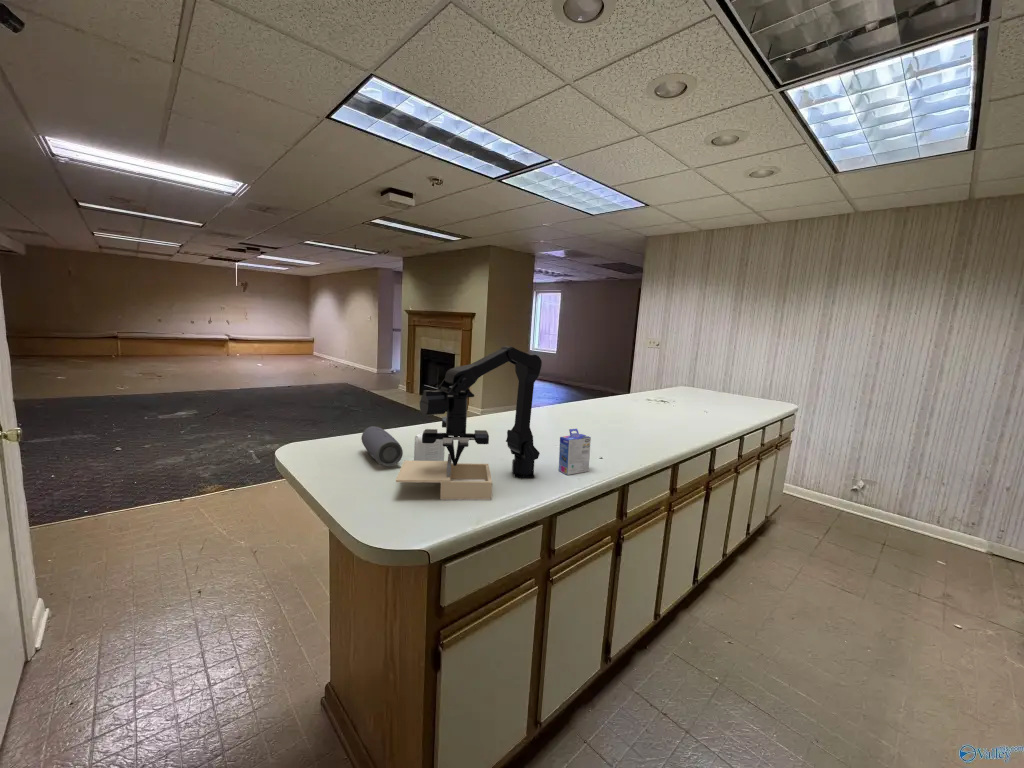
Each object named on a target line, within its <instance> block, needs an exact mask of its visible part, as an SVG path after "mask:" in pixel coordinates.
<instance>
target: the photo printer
mask: <svg viewBox="0 0 1024 768" xmlns="http://www.w3.org/2000/svg"><path fill="white" fill-rule="evenodd" d="M437 433H442V432H440V431H437ZM422 435H423V432H420V433H418V434H416V435H415V436H414V448H413V449H414V450H413V453H414V455H413V461H445V448H446V446H443V439H436V441H435V442H434V443H422Z"/></svg>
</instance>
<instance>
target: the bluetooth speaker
mask: <svg viewBox="0 0 1024 768" xmlns="http://www.w3.org/2000/svg"><path fill="white" fill-rule="evenodd" d="M360 440H361V442H362V445H363V447H364V448H365V449H366V451H367V453H368V454H369V455H370V456H371V457H372V458H373V459H374V460H375V461H376V460H377V461H376V462H377V463H378V462H379V463H380V465H383V467H384V466H385V467H392V466H395V465H397V464H398V463H400V461H401V460H402V457H403V455H404V450H403V448H402V446H401V444H400V443H399V442H398V441H397V440H396V439H395V437H394V436H393V435H392V434H390V433H389V432H387V431H386V430H384V429H383V428H381V427H379V426H375V425H374V426H373V425H371V426H369V427H366V428H365V430H363V431H362V434H361V439H360ZM379 463H378V464H379Z"/></svg>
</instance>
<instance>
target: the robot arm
mask: <svg viewBox="0 0 1024 768" xmlns="http://www.w3.org/2000/svg"><path fill="white" fill-rule="evenodd" d="M508 362H509V363H510V364H512V365H514V369H515V370H514V371H515V374H516V377H517V380H518V387H517V397H516V407H515V419H514V425H513V427H512V428H511V429H507V431H506V434H507V436H506V440H505V442H506V443H507V445H506V446H507V447H508V449H510V452H511V453H510V454H511V455H513V456H514V458H513V459H512V461H511V463H512V464H511V472H512V475H513V476H514V478H517V479H518V478H521V479H525V478H527V479H528V478H529V479H530V478H535V476H536V475H535V474H534V471H535V460H538V459H539V456H540V455H541V454H540V451H539V449H537V448H536V447H535V446H534V435H533V432H532V429H531V426H530V425H531V417H532V408H533V406H532V405H533V397H534V389H535V388H534V386H535V383H536V381H537V379H538V378H539V376H540V373H541V369H542V363H543V362H542V359H541V358H540V356H539V355H538V354H532V353H526V352H524V351H521V350H518V349H517V348H515V347H513V346H507V345H504V346H502V347H501V348H499V349H497V350H496V351H494V352H491V353H489V354H488V355H486V356H483V357H482V358H480V359H478V360H476V361H474V362H471V363H469V364H466V365H465V364H464V365H460V366H456V367H452V368H449V369H448V370H447V371H446V372H445V376H444V379H443V380H442V381H441V383H440V384H439V386H438V387H437V388H436V390H429V389H428V390H427V389H424V390H423V394H422V396H421V398H420V401H419V410H420V412H421V414H422V416H433V415H434V416H435V415H436V416H437V415H444V414H445V413H446V416H441V417H442V419H441V428H445V432H441V433H437V432H438V429H436V428H435V429H434V428H432V429H431V428H430V429H429V428H425V429H424V430H423V432H422V433H423V435H422V443H434V442H435V441H436V439H443V446H445V448H446V449H447V451H448V454H450V456H451V459H452V463H453V465H454V466H456V465H457V463H458V462H459V459H460V457H461V456H462V455H461V454H462V453H463V451H464V449H465V448H467V447H469V441H474V442H475V443H476V444H477V445H489V443H490V436H489V432H488V431H487V430H485V429H483V430H480V429H477V430H476V429H475V430H474V432H473V433H470V432H469V433H467V419H468V417H467V416H468V413H467V412H468V398H475V394H474V393H473V392H472V391H471V390H470V388H471V387H472V386H473V385H474V384H476V382H478V380H479V378H481V377H482V376H484V375H485V374H488V373H490V372H491V371H493V370H495V369H497V368H499V367H500V366H503V365H504V364H506V363H508ZM456 440H457V447H456V452H455V445H454V444H455V443H454V441H456Z"/></svg>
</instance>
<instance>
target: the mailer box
mask: <svg viewBox="0 0 1024 768" xmlns="http://www.w3.org/2000/svg"><path fill="white" fill-rule="evenodd" d="M492 493H493V479H492V474H491V470H490V465H489V463H472V462H471V463H463V462H461V463H460V462H459V463H457V465H456V466H454V465H453V462H452V463H451V477H450V482H440V501H452V500H454V501H464V500H465V501H478V500H479V501H483V500H484V501H486V500H488V501H492V496H493V495H492Z"/></svg>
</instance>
